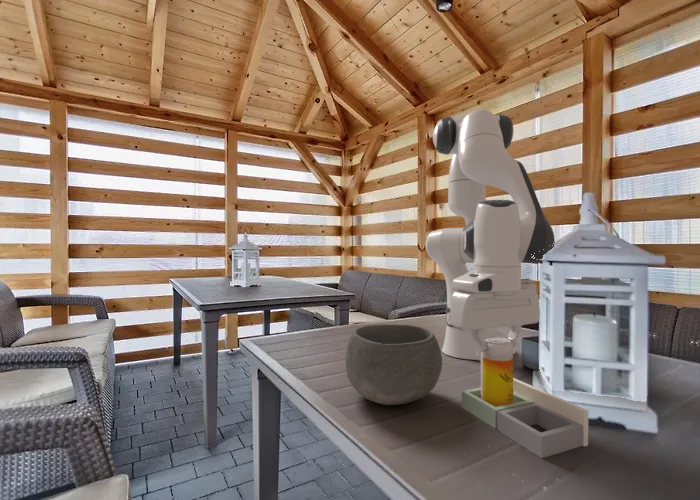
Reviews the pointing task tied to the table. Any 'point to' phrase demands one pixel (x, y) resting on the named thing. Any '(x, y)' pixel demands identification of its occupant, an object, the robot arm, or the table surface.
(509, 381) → the beer can
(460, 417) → the table surface
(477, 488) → the table surface
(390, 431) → the table surface
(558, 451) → the holder board
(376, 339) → the bowl
